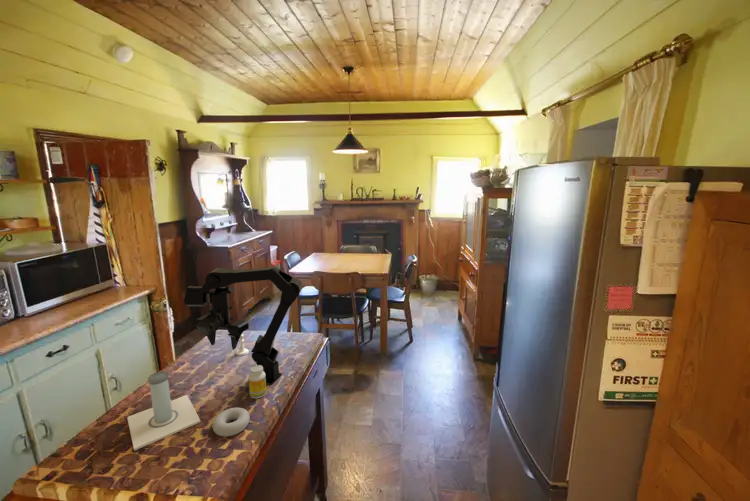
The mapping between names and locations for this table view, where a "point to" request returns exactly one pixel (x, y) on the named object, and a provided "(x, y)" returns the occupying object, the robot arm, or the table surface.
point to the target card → (150, 432)
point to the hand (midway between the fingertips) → (223, 346)
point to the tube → (160, 397)
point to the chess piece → (242, 347)
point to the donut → (235, 427)
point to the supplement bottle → (257, 382)
